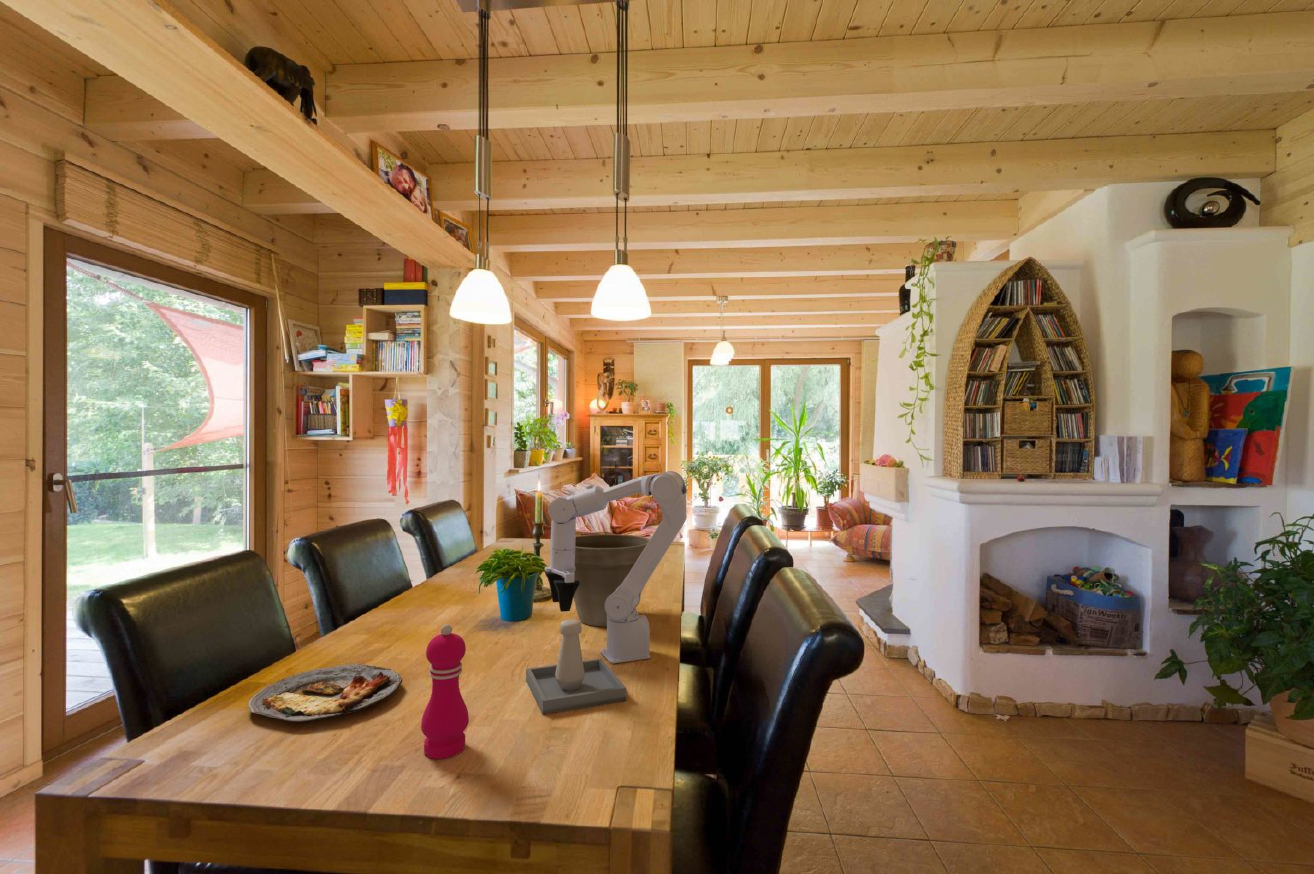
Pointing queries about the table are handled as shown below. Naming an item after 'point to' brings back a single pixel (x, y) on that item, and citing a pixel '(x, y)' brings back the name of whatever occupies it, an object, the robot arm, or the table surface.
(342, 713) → the food plate
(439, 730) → the pepper mill
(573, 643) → the salt shaker
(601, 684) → the tray
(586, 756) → the table surface
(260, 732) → the table surface
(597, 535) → the plant pot
